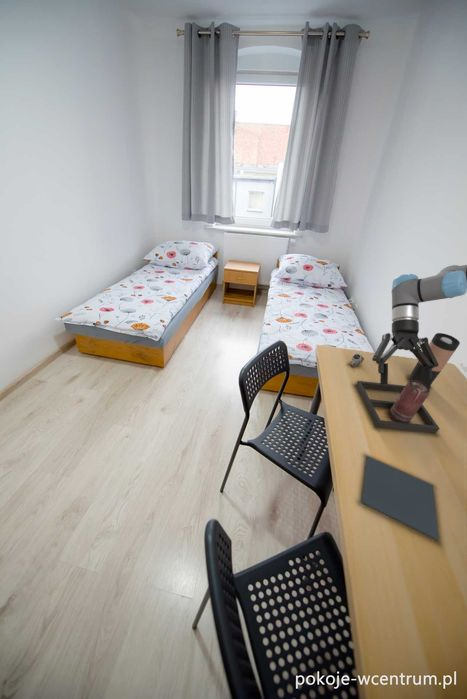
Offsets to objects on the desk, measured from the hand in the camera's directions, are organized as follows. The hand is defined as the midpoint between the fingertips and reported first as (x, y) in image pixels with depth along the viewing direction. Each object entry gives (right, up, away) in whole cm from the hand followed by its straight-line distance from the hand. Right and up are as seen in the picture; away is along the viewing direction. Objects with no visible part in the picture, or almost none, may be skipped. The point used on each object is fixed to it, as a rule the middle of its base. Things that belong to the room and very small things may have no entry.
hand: (405, 386), depth 87 cm
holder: (-1, -8, +5) cm, 9 cm away
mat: (-14, -24, -19) cm, 34 cm away
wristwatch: (-5, +5, +23) cm, 25 cm away
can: (-1, -11, +2) cm, 11 cm away
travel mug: (+17, -1, +18) cm, 25 cm away
